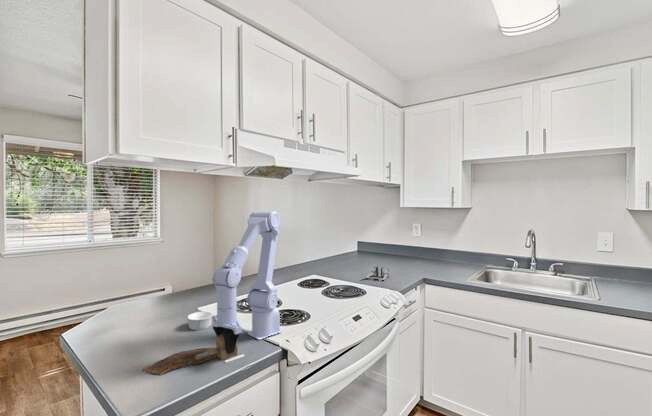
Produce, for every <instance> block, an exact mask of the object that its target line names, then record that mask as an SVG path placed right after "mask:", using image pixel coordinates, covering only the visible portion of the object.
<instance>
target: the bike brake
mask: <svg viewBox="0 0 652 416" xmlns="http://www.w3.org/2000/svg"><path fill="white" fill-rule="evenodd" d="M384 270H385V269H384V266H382V267H380V272H379V266H378V265H377V266H376V264H374V267H373V269H371V270H370V272H371V273H368V274H367V275H366V277H365V278H362V279H361V280H360V282H361V281H365V280H368V279H372V280H371V281H376V280H377V281H381V280H384V281H383V282H385V281H386V279H387V278H388V277H389V276H390V275H391V271H390V266H387V270H385V271H384ZM379 273H380V277H383V276H384V277H383V278H380V279H379V278H378V277H379V276H378V275H379ZM372 276H375V277H376V276H378V277H376V278H375V277H372Z"/></svg>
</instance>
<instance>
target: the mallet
mask: <svg viewBox="0 0 652 416" xmlns="http://www.w3.org/2000/svg"><path fill="white" fill-rule="evenodd" d="M238 339H239V338H238ZM238 339H237V342H236V346H235V350H234V352H233V353H231V354H227V352H226V345H225V340H224V337H223V335H222V334H221V335H218V336H216V337H215V341H216V342H215V345H216V346H215V347H216V349H213V350H210V351H207V352H204V353H201V354H198V355H195V359H196V360H197V359H200V358H203V357H206V356H209V355H212V354H215V353H216V354H217V355H218V357H217V358H219V359H220V360H222V361H225V359H230V358H233V357H234V356H235V357H236V356H239V355H238V354H239V353H238V352H239V351H238V350H239V349H238V347H239V346H238V341H239V340H238Z"/></svg>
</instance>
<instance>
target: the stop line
mask: <svg viewBox="0 0 652 416" xmlns="http://www.w3.org/2000/svg"><path fill="white" fill-rule="evenodd" d="M245 356H246V355H244V354H240V355H236V356H235V357H234V356H233V357H230V358H227V360H223V361H224V363H226V364H227V363H230V362H233V361H235V360H239V359H241V358H243V357H245Z"/></svg>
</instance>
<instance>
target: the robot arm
mask: <svg viewBox="0 0 652 416" xmlns="http://www.w3.org/2000/svg"><path fill="white" fill-rule="evenodd" d="M280 228H281V217H280V216H279V213H278V212H277V211H275V210H273V211H257V210H254V211H252V212H251V213H250V215H249V217H248V218H247V227H246V230H245V231H244V233H243V236H242V237H241V240H240V242H239V244H238V246H235V247H232V248H231V250H230V253H229V254H228V256H227V258H226V259H225V261H224V263H223V264H222V265H221V267H219V268H217V269H216V270H215V272H214V273H213V276H212V277H211V278H212V282H213V284H214V286H215V291H216V314H214V315H213V325H212V330H213V331H214V333H215V335H216V336H218V335H221V334H222V335H223V337H224V340H225V345H226V352H227V354H231V353H233V352H234V350H235V346H236V342H237V339H239V337H240V335H241V334H242V332H243V331H242V326H241V325H240V323H239V321H238V318H237V287H238V285H239V283H240V282H241V279H242V274H243V273H242V272H243V271H242V270H243V268H244V266H245V264H246V262H247V260H248V258H249V257H250V256H249V249H250V248H251V246H252V245H253V243H254V242H255V240H256V239H257V238H258V236H259V235H260V237H261V238H262V242H261V248H260V255H259V264H258V268H257V269H258V270H257V278H256V281H255V282H254V283H253V284H251V285H250V289H249V292H248V294H247V298H246V302H247V305H248V306H249V307H250V310H251V313H252V314H251V322H252V323H251V325H252V326H251V330H250V331H247V333H246V334H247V335H249V336H251V337H253V338H254V339H255V340H257V341H261V340H264V339H266V337H267V338H269V337H268V336H270V337H272V336H271V335H273V336H275V335H274V334H276V335H278V334H277V333H279V334H281V333H282V331H281V322H280V321H281V320H280V319H281V315H280V311H279V309H278V307H277V305H278V300H279V299H278V288H277V287H276V285H275V284H274V283H273V282H272V281H273V274H274V267H275V260H276V259H275V258H276V251H277V243H278V236H279V234H280ZM280 332H281V333H280Z"/></svg>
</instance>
